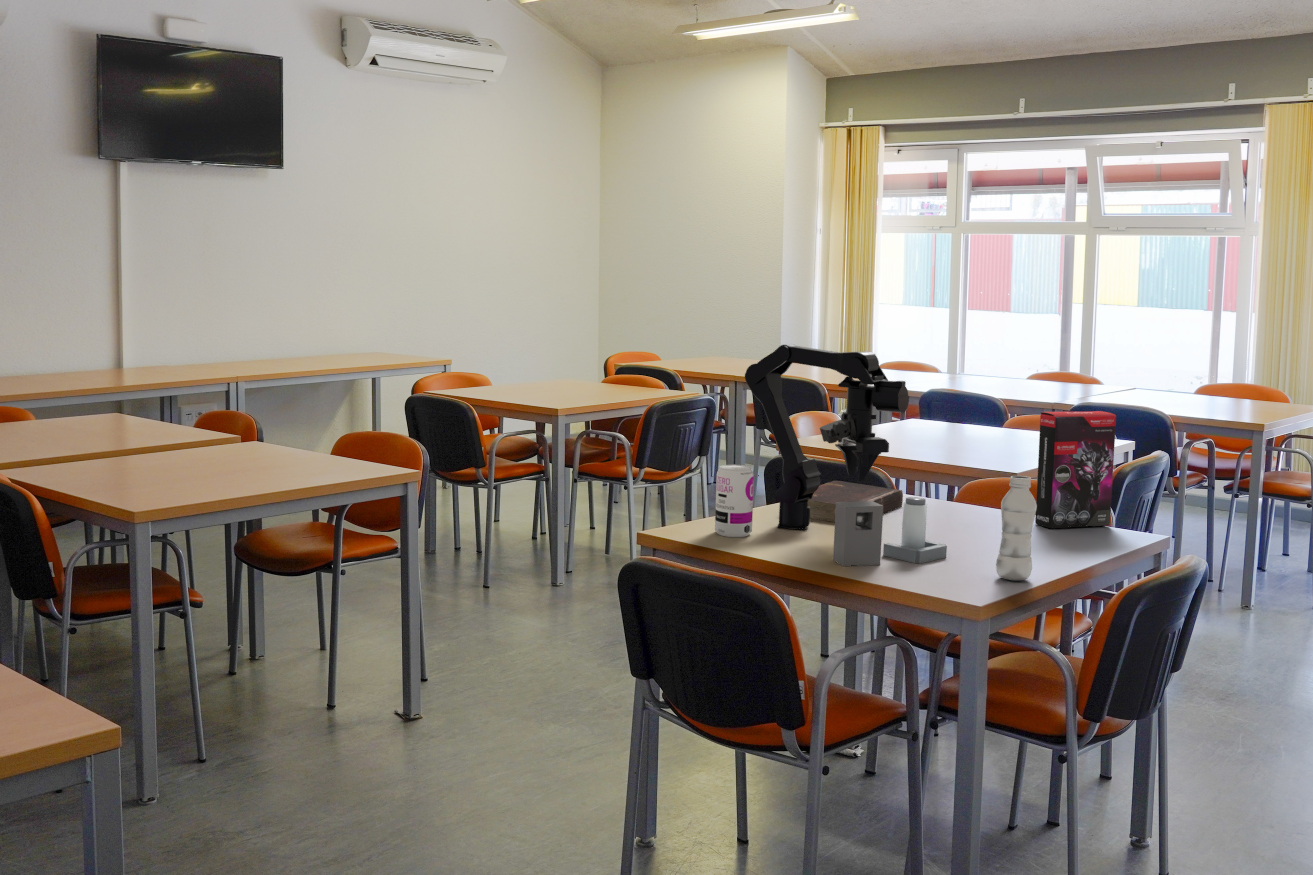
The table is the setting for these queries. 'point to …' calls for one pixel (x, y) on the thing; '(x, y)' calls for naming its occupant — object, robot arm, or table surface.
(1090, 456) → the graphics card box
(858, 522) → the plunger
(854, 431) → the robot arm
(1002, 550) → the plastic bottle
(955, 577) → the table surface
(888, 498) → the hardback book
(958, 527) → the table surface
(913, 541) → the cylinder
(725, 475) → the supplement can
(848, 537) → the block
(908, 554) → the cradle
